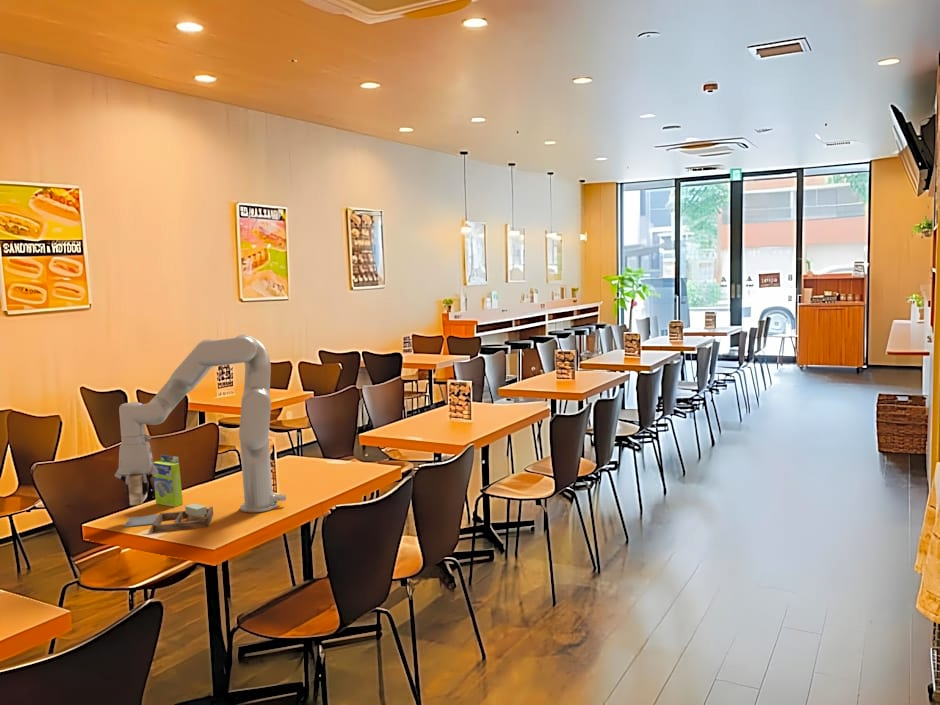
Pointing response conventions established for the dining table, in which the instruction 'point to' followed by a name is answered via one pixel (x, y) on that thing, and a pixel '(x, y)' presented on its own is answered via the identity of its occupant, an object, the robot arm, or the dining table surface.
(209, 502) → the dining table surface
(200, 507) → the offcut top
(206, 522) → the rack
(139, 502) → the beige rectangular block
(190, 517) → the offcut low
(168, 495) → the box
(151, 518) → the mat
